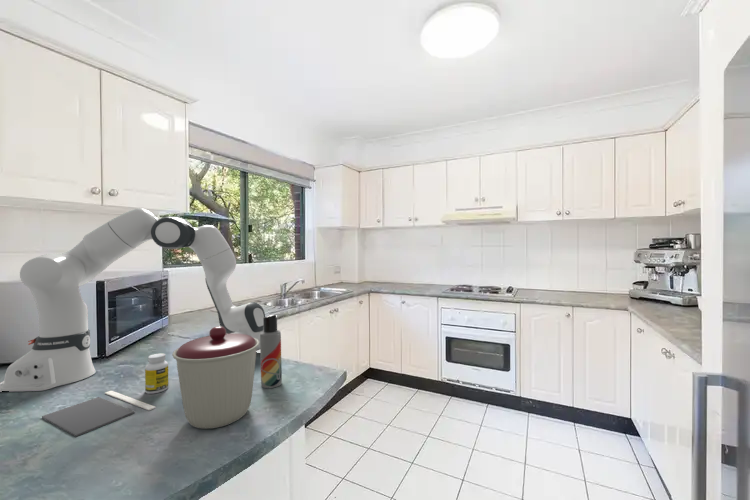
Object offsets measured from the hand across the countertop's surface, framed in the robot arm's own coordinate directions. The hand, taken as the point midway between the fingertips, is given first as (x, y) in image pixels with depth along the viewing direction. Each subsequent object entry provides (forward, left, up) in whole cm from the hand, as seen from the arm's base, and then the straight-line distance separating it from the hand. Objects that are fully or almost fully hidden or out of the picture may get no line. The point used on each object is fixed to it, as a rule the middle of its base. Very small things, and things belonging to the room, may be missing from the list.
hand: (197, 357), depth 101 cm
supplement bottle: (-8, -9, -6) cm, 13 cm away
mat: (-18, -21, -6) cm, 28 cm away
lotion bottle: (+24, -14, -6) cm, 28 cm away
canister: (+14, -30, -6) cm, 33 cm away
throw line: (-12, -15, -6) cm, 20 cm away
